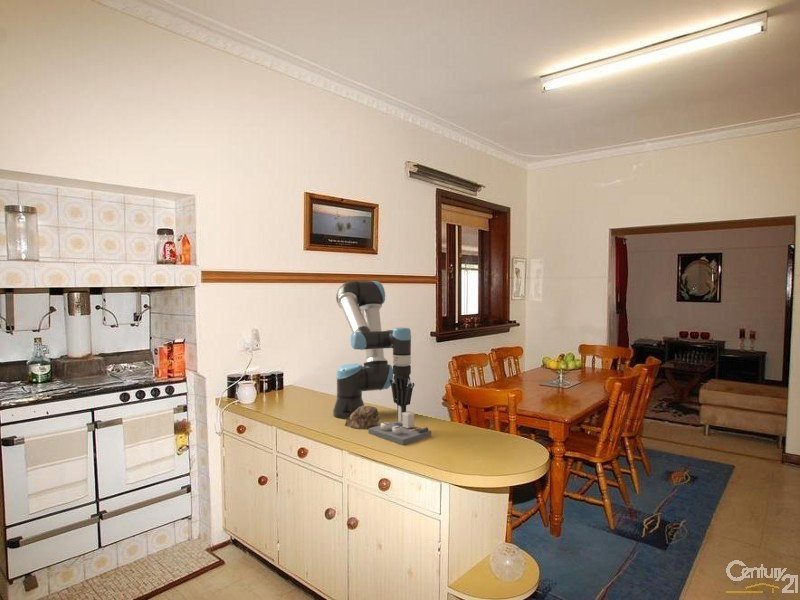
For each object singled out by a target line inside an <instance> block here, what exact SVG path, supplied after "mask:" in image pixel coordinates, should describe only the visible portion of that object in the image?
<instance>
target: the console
mask: <svg viewBox="0 0 800 600" xmlns="http://www.w3.org/2000/svg"><path fill="white" fill-rule="evenodd" d="M367 429H368V431H367V433H368V434H369V435H372V436H375V437H378V438H380V439H384V440H386V441H389V442H393V443H395V444H398V445H402V446H404V445H407V444H411V443H413V442H416V441H420V440H423V439H426V438H430V437H432V431H431V430H429V427H428V426H427V427H418V426H415V425H414V427H411V428H405V427H403V421H402V422H399V421H398V420H395V421H391V422H384V421H383V422H381V423H380V425H377V426H376V427H371V428H367Z"/></svg>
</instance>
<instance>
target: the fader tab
mask: <svg viewBox="0 0 800 600" xmlns="http://www.w3.org/2000/svg"><path fill="white" fill-rule="evenodd" d="M415 413H416V412H415V411H410V410H406V412H403V413H402V415H403V421H402V423H403V427H405V428H411V427H414V426H415Z"/></svg>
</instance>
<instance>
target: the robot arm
mask: <svg viewBox="0 0 800 600" xmlns="http://www.w3.org/2000/svg"><path fill="white" fill-rule="evenodd" d="M335 300H336V304H337V305H338V308H340V309H341V310H342V312H343V314H344V316H345V318H346V321H347V323H348V326H349V328H350V330H351V332H352V333H351V334H350V346H351V348H353V350H360V351H361V350H362V351H363V350H365V357H366V358H365V361H364V362H363V365H362V363H348V364H343V365H341V366H339V367H338V368H337V370H336V401H335V404H334V406H333V410H332V416H333V417H335V418H338V419H343V420H344V419H345V420H347V419H348V418H349V417H350V415H351V414H352V413H353V412H354V411H355V410H357V409H358V408H359V407H360V406H365V402H364V400H363V396H362V394H363V392H370V391H382V390H388V389H389V388H390V387H391V388H390V389H391V392H392V393H391V394H392V400H393V403H394V404H396V405H397V407H396V408H397V409H396V410H397V414H398V415H397V418H398V419H397V421H399V422H402V423H403V415H402V413H403V412H407V406H409V405H410V404H411V401H412V395H413V391H414V390H413V389H414V387H415V383H414V382H412V381H411V377H410V375H411V373H412V370H411V369H412V366H411V363H412V351H411V350H412V347H411V346H412V332H411V331H412V330H411V329H410V327H404V326H403V327H401V326H399V327H394V328H393V329H388V330H382V322H381V313H380V312H381V311H380V310H381V308H382V307H383V304H384V303H385V301H386V291H385V288H384V285H383V284H382V282H380V281H376V280H375V281H374V280H349V281H346V282H344V283H343V284H342V285H340V286H339V288H338V290H337V292H336V297H335ZM384 349H392V363H393V366H392V365H391V364H389V363H388V359H387V358H385V355H384V354H385V353H384Z"/></svg>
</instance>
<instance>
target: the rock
mask: <svg viewBox="0 0 800 600" xmlns="http://www.w3.org/2000/svg"><path fill="white" fill-rule="evenodd" d="M380 418H381V417H380V414H379V410H378V408H377V407H376V406H371V405H364V406H360V407H359V408H358V409H357V410H355V411H354V412H353V413H352V414H351V415H350V417H349V418H348V419H346V421H345V424H344V427H349V428H353V429H356V430H366V429H368V428H372V427H376V426H379V425H378V424H379V422H380Z"/></svg>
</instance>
